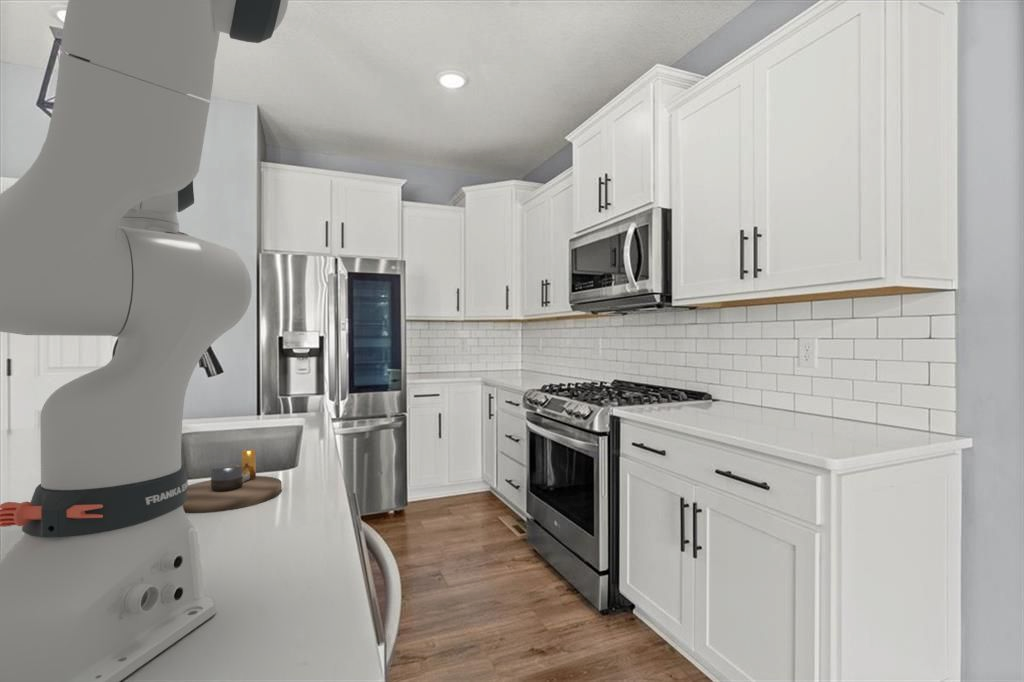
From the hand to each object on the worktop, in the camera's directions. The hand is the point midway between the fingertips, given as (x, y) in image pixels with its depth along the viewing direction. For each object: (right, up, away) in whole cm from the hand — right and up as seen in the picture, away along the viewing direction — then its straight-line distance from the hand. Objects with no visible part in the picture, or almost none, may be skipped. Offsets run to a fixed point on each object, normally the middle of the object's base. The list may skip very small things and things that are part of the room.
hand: (148, 323), depth 87 cm
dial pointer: (+10, -29, +10) cm, 32 cm away
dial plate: (+9, -31, +7) cm, 33 cm away
